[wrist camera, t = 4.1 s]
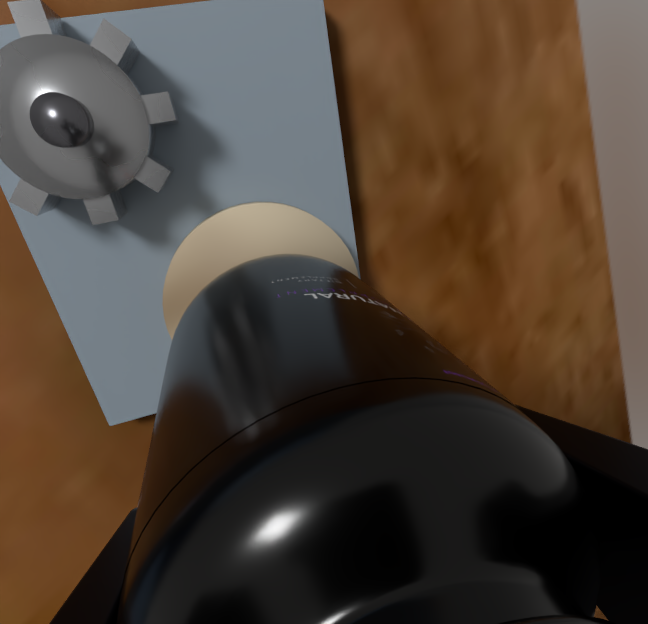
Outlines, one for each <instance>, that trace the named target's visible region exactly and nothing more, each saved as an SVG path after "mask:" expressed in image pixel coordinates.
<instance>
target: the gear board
mask: <svg viewBox="0 0 648 624" xmlns="http://www.w3.org/2000/svg"><path fill="white" fill-rule="evenodd" d="M103 19H106V20H107V21H108V22H110V23H111V24H112V25H114V26H115V27H116V28H118V29H119V30H120V31H122V32H123V33H124V34H126V35H127V36H128V37H130V38H131V39H132V40H133V42H134V43H135V45H136V46H137V47H138V49H139V50H140V53H139V55H138V57H137V59H136V61H135V62H134V64H133V66H132V68H131V70H130V72H129V74H128V76H129V77H130V78H131V79H132V80H133V81H134V82H135V83H136V85H137V86H138V87H139V88H140V90H141V92H142V93H143V95H148V94H154V93H161V92H167V91H168V92H169V94H170V95H171V97H172V99H173V102H174V106H175V109H176V113H177V117H178V120H179V123H176V124H170V125H164V126H158V127H155V146H154V151H153V154H152V155H153V156H155V157H157V158H158V159H160V160H161V161H163V162H164V163H166V164H167V165H169V166H170V167H172V168H174V170H173V172H172V174H171V176H170V177H169V179H168V181H167V182H166V184H165V186H164V188H163V189H162V190H161V191H160V192H159V193H157V192H156V191H154V190H153V189H151V188H149V187H148V186H146V185H144V184H143V183H141V182H140V181H138V180H134V181H133V182H132V183H130V184H128V185H127V186H125V187H123V188H121V189H120V191H121V194H122V197H123V200H124V203H125V206H126V209H127V211H128V213H127V214H125V215H124V216H123V217H122V218H121V219H119V220H117V221H112V222H107V223H102V224H97V225H92V222H91V219H90V217H89V214H88V212H87V209H86V206H85V204H84V201H83V199H70V198H63V197H61V199H60V201H59V203H58V205H57V207H56V208H55V209H53V210H51V211H48V212H46V213H43V214H41V215H38V216H36V215H34V214H32V213H30V212H28V211H26V210H24V209H22V208H20V207H18V206H16V205H15V204H13V203H11V202H9V200H10V198H11V196H12V194H13V192H14V190H15V188H16V186H17V184H18V183H19V181H20V179H21V178H20V177H19V176H17V175H16V174H15V173H14V172H12V171H11V170H10V169H9V168H8V167H7V166H6V165H5V164H4V162H3V161H2V160H1V159H0V185H1V188H2V190H3V192H4V194H5V196H6V199H7V201H8V203H9V205H10V207H11V210H12V212H13V214H14V216H15V218H16V221H17V223H18V225H19V227H20V229H21V232H22V234H23V236H24V238H25V240H26V243H27V245H28V247H29V249H30V251H31V254H32V256H33V258H34V260H35V262H36V265H37V267H38V269H39V271H40V273H41V276H42V278H43V280H44V282H45V284H46V287H47V289H48V291H49V293H50V296H51V298H52V300H53V302H54V304H55V307H56V309H57V311H58V313H59V315H60V318H61V320H62V322H63V324H64V326H65V329H66V331H67V333H68V335H69V337H70V340H71V342H72V344H73V346H74V348H75V351H76V353H77V355H78V357H79V359H80V362H81V364H82V366H83V368H84V370H85V373H86V375H87V377H88V379H89V381H90V384H91V386H92V388H93V390H94V392H95V395H96V397H97V399H98V401H99V403H100V406H101V408H102V410H103V412H104V415H105V417H106V419H107V421H108V423H109V426H112V425H115V424H119V423H123V422H126V421H130V420H133V419H137V418H140V417H144V416H148V415H151V414H155V413H157V409H158V404H159V399H160V394H161V389H162V384H163V379H164V374H165V369H166V364H167V359H168V354H169V351H170V347H171V342H172V339H171V337H170V335H169V332H168V330H167V327H166V323H165V319H164V314H163V305H162V303H163V288H164V283H165V278H166V274H167V271H168V268H169V265H170V262H171V260H172V258H173V256H174V254H175V252H176V250H177V248H178V247H179V245H180V244H181V243H182V241H183V240H184V238H185V237H186V236H187V235H188V234H189V233H190V232H191V231H192V230H193V229H194V228H195V227H196V226H197V225H198V224H200V223H201V222H202V221H203V220H205V219H206V218H208V217H210V216H211V215H213V214H215V213H216V212H219V211H221V210H223V209H226V208H228V207H231V206H235V205H238V204H242V203H249V202H276V203H283V204H287V205H290V206H294V207H297V208H299V209H301V210H304V211H306V212H308V213H309V214H311V215H313V216H314V217H316V218H318V219H319V220H321V221H322V222H324V223H325V224H326V225H327V226H329V227H330V228H331V229H332V230H333V231H334V232H335V233H336V234H337V235H338V236H339V237H340V238H341V240H342V241H343V242H344V244H345V245H346V247H347V248H348V250H349V252H350V254H351V256H352V258H353V260H354V263H355V265H356V268H357V272H358V276H359V279H361V278H360V271H359V264H358V256H357V249H356V241H355V234H354V226H353V219H352V211H351V204H350V197H349V189H348V182H347V174H346V167H345V159H344V152H343V144H342V137H341V130H340V122H339V115H338V107H337V100H336V92H335V85H334V77H333V70H332V62H331V55H330V48H329V40H328V33H327V25H326V18H325V10H324V3H323V0H211V1H203V2H194V3H186V4H177V5H169V6H160V7H152V8H143V9H135V10H126V11H118V12H110V13H101V14H93V15H84V16H76V17H67V18H61V20H62V23H63V26H64V29H65V32H66V35H67V37H70V38H73V39H76V40H79V41H82V42H84V43H86V44H88V45H90V44H91V42H92V40H93V38H94V36H95V34H96V32H97V30H98V28H99V26H100V24H101V22H102V21H103ZM19 38H21V37H20V34H19V31H18V29H17V26H16V24H8V25H0V49H1V48H2V47H4V46H5V45H7V44H8V43H10V42H12V41H14V40H16V39H19Z"/></svg>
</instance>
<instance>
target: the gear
mask: <svg viewBox="0 0 648 624" xmlns="http://www.w3.org/2000/svg"><path fill="white" fill-rule="evenodd" d="M7 3H8V5H9V8H10V11H11V13H12V16H13V18H14V21H15V24H16V26H17V29H18V31H19V34H20V37H21V38H19V39H16V40H14V41H12V42H10V43H8V44H7V45H5V46H4V47H2V48H1V49H0V159H1V160H2V161H3V162H4V164H5V165H6V166H7V167H8V168H9V169H10V170H11V171H12V172H14V173H15V174H16V175H17V176H19V177H20V178H21V179H20V181H19V183H18V184H17V186H16V188H15V190H14V192H13V194H12V196H11V198H10V200H9V202H11V203H13V204H15V205H16V206H18V207H20V208H22V209H24V210H26V211H28V212H30V213H32V214H34V215H36V216H38V215H41V214H43V213H46V212H48V211H51V210H53V209H55V208H56V207H57V205H58V203H59V201H60V199H61V197H63V198H70V199H83V201H84V204H85V206H86V209H87V212H88V214H89V217H90V219H91V222H92V225H97V224H102V223H107V222H112V221H117V220H119V219H121V218H122V217H123V216H124V215H125V214H127V213H128V211H127V209H126V206H125V203H124V200H123V197H122V194H121V191H120V189H121V188H123V187H125V186H127V185H128V184H130V183H132V182H133V181H134V180H138V181H140V182H141V183H143V184H144V185H146V186H148V187H149V188H151V189H153V190H154V191H156V192H157V193H159V192H160V191H161V190H162V189H163V188H164V186H165V184H166V182H167V181H168V179H169V177H170V176H171V174H172V172H173V170H174V168H172V167H170V166H169V165H167V164H166V163H164V162H163V161H161V160H160V159H158V158H157V157H155V156H153V155H152V154H153V151H154V146H155V127H158V126H164V125H170V124H176V123H179V120H178V117H177V113H176V109H175V106H174V102H173V99H172V97H171V95H170V94H169V92H168V91H167V92H161V93H154V94H148V95H143V93H142V92H141V90H140V88H139V87H138V86H137V85H136V83H135V82H134V81H133V80H132V79H131V78H130V77H129V76H128V74H129V72H130V70H131V68H132V66H133V64H134V62H135V61H136V59H137V57H138V55H139V53H140V50H139V49H138V47H137V46H136V45H135V43H134V42H133V40H132V39H131V38H130V37H128V36H127V35H126V34H124V33H123V32H122V31H120V30H119V29H118V28H116V27H115V26H114V25H112V24H111V23H110V22H108V21H107V20H106V19H103V21H102V22H101V24H100V26H99V28H98V30H97V32H96V34H95V36H94V38H93V40H92V42H91V44H90V45H88V44H86V43H84V42H82V41H79V40H76V39H73V38H70V37H67V35H66V32H65V29H64V26H63V23H62V20H61V17H60V16H58V15H57V14H56V13H55V12H54V11H53V10H52V9H51V8H49V7H48V6H47V5H46V4H45V3H44V2H43V1H42V0H23V1H14V2H7Z"/></svg>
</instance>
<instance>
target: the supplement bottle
mask: <svg viewBox="0 0 648 624" xmlns="http://www.w3.org/2000/svg"><path fill="white" fill-rule="evenodd" d="M600 576H601V554H600V543H599V537H598V532H597V527H596V522H595V519H594V515H593V512H592V509H591V506H590V503H589V500H588V497H587V495H586V492H585V490H584V487H583V485H582V483H581V481H580V479H579V477H578V475H577V473H576V472H575V470H574V468H573V466H572V464H571V463H570V461H569V460H568V459H567V457H566V456H565V454H564V453H563V452H562V450H561V449H560V448H559V446H558V445H557V444H556V443H555V442H554V441H553V440H552V439H551V438H550V437H549V436H548V435H547V434H546V433H545V432H544V431H543V430H542V429H541V428H540V427H539V426H538V425H537V424H536V423H535V422H533V421H532V420H531V419H530V418H529V417H528V416H527V415H526V414H525V413H524V412H523V411H521V410H520V409H519V408H518V407H517V406H515V405H514V404H513V403H512V402H511V401H509V400H508V399H507V398H506V397H504V396H503V395H502V394H501V393H500V392H498V391H497V390H496V389H495V388H493V387H492V386H491V385H490V384H489V383H487V382H486V381H485V380H484V379H482V378H481V377H480V376H479V375H478V374H476V373H475V372H474V371H473V370H471V369H470V368H469V367H468V366H467V365H465V364H464V363H463V362H462V361H460V360H459V359H458V358H457V357H456V356H454V355H453V354H452V353H451V352H449V351H448V350H447V349H446V348H445V347H443V346H442V345H441V344H440V343H438V342H437V341H436V340H435V339H434V338H432V337H431V336H430V335H429V334H427V333H426V332H425V331H424V330H423V329H421V328H420V327H419V326H418V325H416V324H415V323H414V322H413V321H412V320H410V319H409V318H408V317H407V316H405V315H404V314H403V313H402V312H401V311H399V310H398V309H397V308H396V307H394V306H393V305H392V304H391V303H390V302H388V301H387V300H386V299H385V298H383V297H382V296H381V295H380V294H379V293H377V292H376V291H375V290H374V289H372V288H371V287H370V286H369V285H367V284H366V283H365V282H363V281H362V280H361V279H359V278H358V277H357V276H355V275H354V274H353V273H351V272H349V271H348V270H346V269H345V268H343V267H341V266H339V265H337V264H335V263H332V262H330V261H327V260H324V259H322V258H318V257H313V256H308V255H301V254H276V255H269V256H263V257H259V258H256V259H252V260H249V261H246V262H244V263H241V264H239V265H237V266H235V267H233V268H231V269H229V270H227V271H225V272H224V273H222V274H220V275H219V276H218V277H216V278H215V279H214V280H212V281H211V282H210V283H209V284H208V285H206V286H205V287H204V288H203V289H202V290H201V291H200V292H199V293H198V294H197V295H196V297H195V298H194V299H193V300H192V302H191V303H190V304H189V306H188V307H187V309H186V310H185V312H184V314H183V315H182V317H181V319H180V321H179V324H178V326H177V328H176V330H175V333H174V336H173V339H172V342H171V347H170V351H169V354H168V359H167V364H166V369H165V374H164V379H163V384H162V389H161V394H160V399H159V404H158V409H157V413H156V418H155V423H154V428H153V433H152V438H151V443H150V448H149V453H148V458H147V463H146V468H145V473H144V478H143V483H142V488H141V493H140V498H139V503H138V508H137V513H136V518H135V523H134V528H133V533H132V538H131V543H130V548H129V553H128V558H127V563H126V568H125V572H124V577H123V583H122V588H121V596H120V603H119V609H118V615H117V624H616V623H613V622H610V621H607V620H604V619H600V618H595V617H594V614H595V609H596V605H597V600H598V594H599V587H600Z"/></svg>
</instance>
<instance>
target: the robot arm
mask: <svg viewBox="0 0 648 624" xmlns="http://www.w3.org/2000/svg"><path fill="white" fill-rule="evenodd" d="M515 406H517V405H515ZM517 407H518V408H519V409H520V410H521V411H523V412H524V413H525V414H526V415H527V416H528V417H529V418H530V419H531V420H532V421H533V422H535V423H536V424H537V425H538V426H539V427H540V428H541V429H542V430H543V431H544V432H545V433H546V434H547V435H548V436H549V437H550V438H551V439H552V440H553V441H554V442H555V443H556V444H557V445H558V446H559V448H560V449H561V450H562V452H563V453H564V454H565V456H566V457H567V459H568V460H569V461H570V463H571V464H572V466H573V468H574V470H575V472H576V473H577V475H578V477H579V479H580V481H581V483H582V485H583V487H584V490H585V492H586V495H587V497H588V500H589V503H590V506H591V509H592V512H593V515H594V519H595V522H596V527H597V532H598V537H599V543H600V554H601V576H600V587H599V594H598V600H597V606H598V608H599V609H600V610H601V611H602V613H603V614H604V615H605V616H606V618H607V619H608V620H609V621H610V622H613V623H616V624H648V449H645V448H642V447H639V446H636V445H633V444H630V443H627V442H624V441H621V440H618V439H615V438H612V437H609V436H606V435H603V434H600V433H597V432H595V431H592V430H589V429H586V428H583V427H580V426H577V425H574V424H571V423H568V422H565V421H562V420H559V419H556V418H553V417H550V416H547V415H544V414H541V413H538V412H535V411H532V410H529V409H526V408H523V407H520V406H517ZM136 513H137V508H135V509H133V510H132V511H131V512H130V513H129V514H128V515H127V517H126V518H125V520H124V521H123V522H122V524H121V525H120V527H119V528H118V529H117V531H116V532H115V533H114V535H113V536H112V538H111V539H110V540H109V542H108V543H107V544H106V546H105V547H104V549H103V550H102V551H101V553H100V554H99V556H98V557H97V558H96V560H95V561H94V562H93V564H92V565H91V567H90V568H89V569H88V571H87V572H86V574H85V575H84V576H83V578H82V579H81V580H80V582H79V583H78V585H77V586H76V587H75V589H74V590H73V592H72V593H71V594H70V596H69V597H68V598H67V600H66V601H65V603H64V604H63V605H62V607H61V608H60V610H59V611H58V612H57V614H56V615H55V616H54V618H53V619H52V621H51V622H50V623H49V624H117V615H118V609H119V603H120V596H121V588H122V583H123V577H124V572H125V568H126V563H127V558H128V553H129V548H130V543H131V538H132V533H133V528H134V523H135V518H136Z"/></svg>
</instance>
